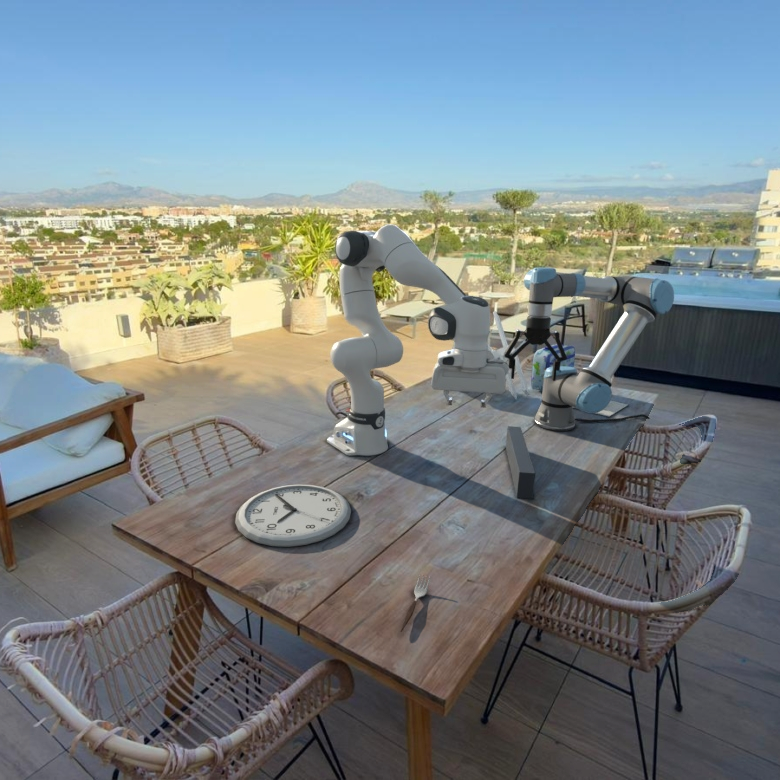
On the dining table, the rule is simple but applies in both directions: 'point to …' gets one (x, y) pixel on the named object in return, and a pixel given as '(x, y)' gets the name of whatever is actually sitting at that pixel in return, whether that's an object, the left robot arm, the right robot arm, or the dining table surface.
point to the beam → (520, 463)
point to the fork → (418, 593)
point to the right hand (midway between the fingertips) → (532, 378)
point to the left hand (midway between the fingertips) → (466, 405)
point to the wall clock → (293, 515)
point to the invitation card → (611, 408)
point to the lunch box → (548, 363)
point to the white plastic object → (506, 359)
